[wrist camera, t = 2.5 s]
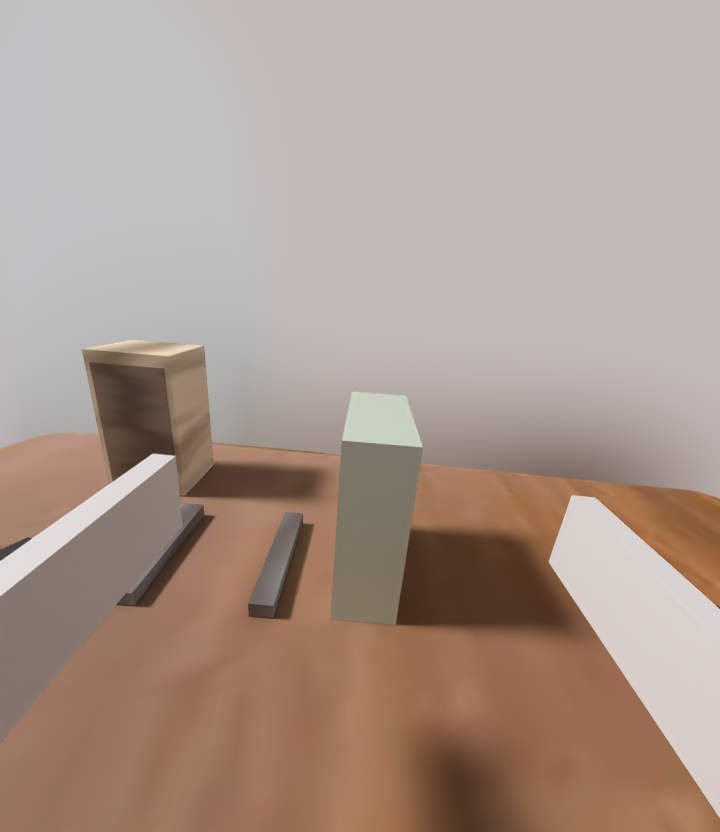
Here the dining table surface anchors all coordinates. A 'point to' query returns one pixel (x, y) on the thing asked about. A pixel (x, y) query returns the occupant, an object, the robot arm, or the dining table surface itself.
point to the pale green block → (374, 507)
